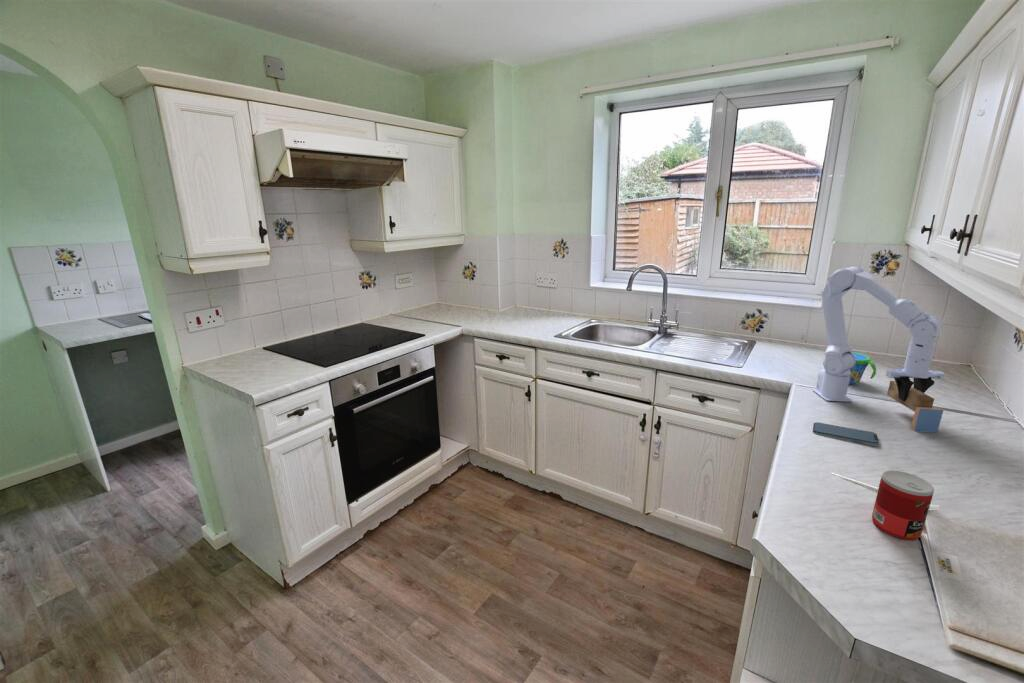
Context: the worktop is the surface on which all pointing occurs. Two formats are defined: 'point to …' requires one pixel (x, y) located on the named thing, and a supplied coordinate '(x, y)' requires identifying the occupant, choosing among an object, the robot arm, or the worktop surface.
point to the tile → (926, 419)
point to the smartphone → (846, 434)
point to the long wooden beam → (910, 397)
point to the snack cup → (860, 368)
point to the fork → (932, 507)
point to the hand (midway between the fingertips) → (908, 399)
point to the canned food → (902, 504)
